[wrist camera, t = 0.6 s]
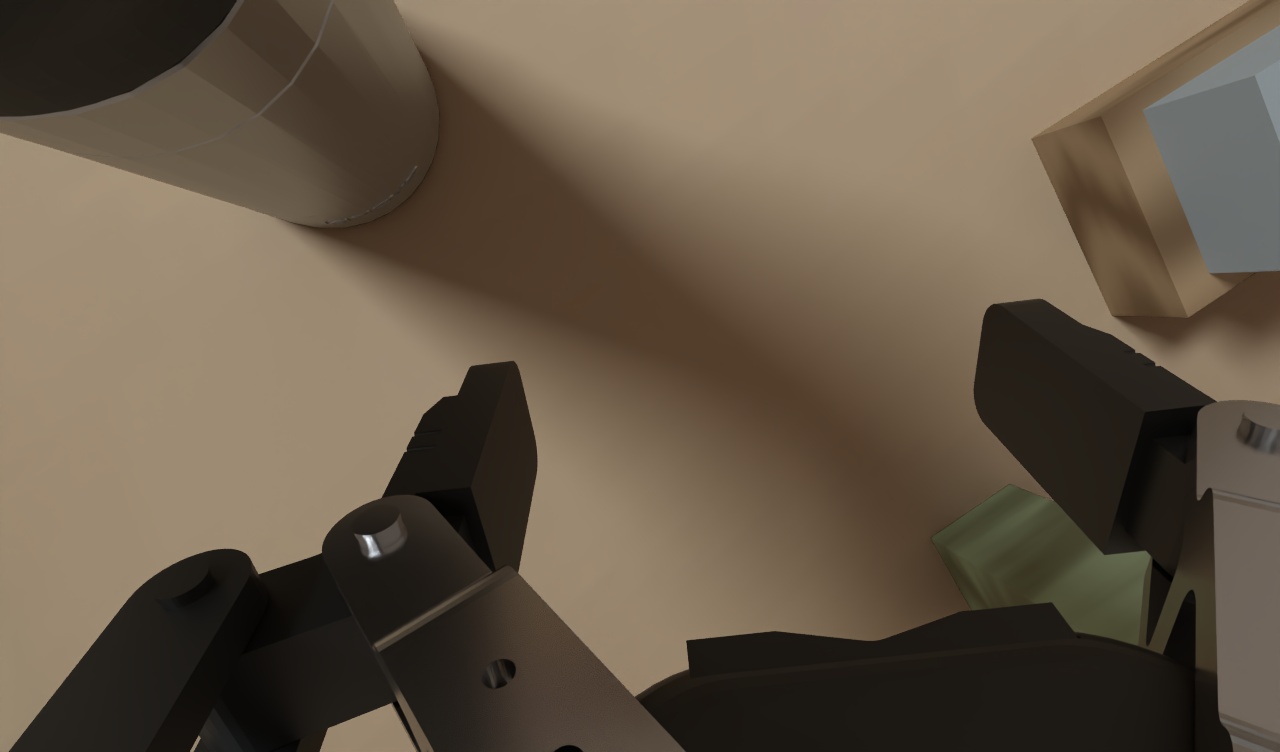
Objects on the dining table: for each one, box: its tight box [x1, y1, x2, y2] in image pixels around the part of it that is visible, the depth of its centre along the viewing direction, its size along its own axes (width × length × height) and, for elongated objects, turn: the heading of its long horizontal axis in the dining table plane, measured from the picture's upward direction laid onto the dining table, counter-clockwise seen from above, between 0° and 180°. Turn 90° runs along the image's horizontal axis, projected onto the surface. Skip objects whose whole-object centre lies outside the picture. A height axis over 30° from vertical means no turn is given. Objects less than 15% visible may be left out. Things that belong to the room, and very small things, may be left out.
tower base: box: [1032, 0, 1280, 318], centre depth 31 cm, size 10×15×4 cm, turn 122°
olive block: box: [931, 484, 1151, 646], centre depth 27 cm, size 5×5×14 cm
